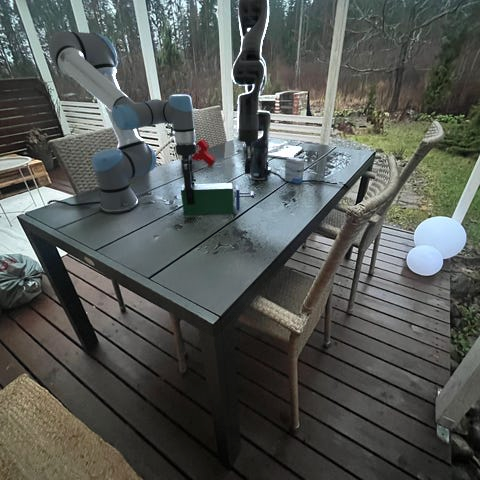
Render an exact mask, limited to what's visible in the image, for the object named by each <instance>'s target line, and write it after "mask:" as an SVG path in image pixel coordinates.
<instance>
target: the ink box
mask: <svg viewBox="0 0 480 480" xmlns="http://www.w3.org/2000/svg"><path fill="white" fill-rule="evenodd" d="M305 162H306V159H304V158H299V157H296V156H294V157H289V158H287V159H286V158H285V169H284V179H285V182H289V183H293V184H295V185H298V184H300V183H302V182H301V181H302V180H304V173H305V171H304V170H305Z"/></svg>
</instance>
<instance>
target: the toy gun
mask: <svg viewBox="0 0 480 480" xmlns="http://www.w3.org/2000/svg"><path fill="white" fill-rule="evenodd" d="M209 148H210V145H209V144H208V142H207V141H206V140H205V139H204V138H202V139H200V140H198V141H197V142H196V153H195V154H194V155H192V157H193V162H194V161H195V160H196V162H200V161H204V162H205V163H206V164H207V165H208V167H210V166H212V165H214V164H215V163H216V162H215V161H216V158H215V156H213V155H212V154H210V153H209V152H208V149H209ZM182 158H183V156H181V159H182Z"/></svg>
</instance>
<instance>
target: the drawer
mask: <svg viewBox="0 0 480 480" xmlns="http://www.w3.org/2000/svg"><path fill="white" fill-rule="evenodd" d="M240 190H241V189H240V185H235V206H236V207H235V208H236V212H238V211H239V212H240V211H241V210H240V209H241V202H240V199H241V198H251V199H254V198H255V192H254V191H253V190H251V191H245V192H240Z"/></svg>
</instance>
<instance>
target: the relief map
mask: <svg viewBox="0 0 480 480" xmlns="http://www.w3.org/2000/svg"><path fill="white" fill-rule="evenodd" d="M302 147H303V146H294V145H292V144H290V143H289V142H288V141H284V142H282V143H280V144H279V143H278V142H276V141H273V140H272V139H271V138H269V145H268V157H271V158H277V159H285V160H286V159H287V158H289V157H296V156H297V155H298V154H299V153H300V152H302V151H303V150H304V148H303V149H302ZM296 153H297V154H296Z"/></svg>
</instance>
